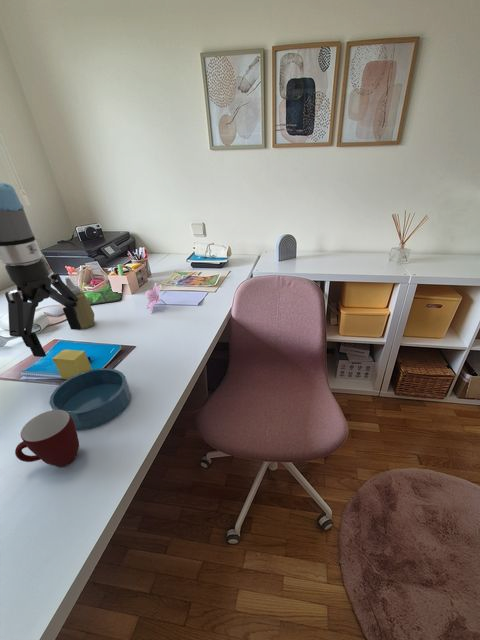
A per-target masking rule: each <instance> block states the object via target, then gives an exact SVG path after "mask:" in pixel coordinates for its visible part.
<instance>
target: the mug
mask: <svg viewBox="0 0 480 640" xmlns="http://www.w3.org/2000/svg"><path fill="white" fill-rule="evenodd" d="M20 438H21V440H22V441H21V442H19V443H18V444H17V445H16V447H15V450H14V455H15V457H16V458H17V459H18V460H19V461H21V462H25V463H32V462H37V461H42V462H43V463H45V464H47V465H49V466H53V467H56V468H64V467H66V466H67V467H68V466H69V465H71V464H72V463H73V462H75V460H76V459H77V457H78V453H79V451H80V449H79V448H80V441H79V436H78V431H77V430H76V427H75V424H74V422H73V420H72V418H71V416H70V414H69V413H68V412H67V411H64V410H52V409H51V410H47V411H45V412H42V413H39V414H37V415H36V416H34V417H33V418H31V419H30V420H28V422H26V423H25V424H24V426H23V427H22V429H21V430H20ZM26 448H28V450H29V451H31V452H32V454H34V455H29V454H26V453H24V452H23V450H24V449H26Z"/></svg>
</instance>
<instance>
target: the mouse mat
mask: <svg viewBox="0 0 480 640" xmlns="http://www.w3.org/2000/svg"><path fill="white" fill-rule="evenodd" d="M80 292H83V291H80ZM83 293H84V294H85V296H86V298H87V300H88V302H89V304H90V306H94V305H99V304H100V305H102V304H108V303H114V302H119V301H122V299H123V292H122V293H118V292H113V291H112V289H111V286H110V284H109V285H107V286H106V287H105V288H103V289H101V290H99V291H97V292H83ZM64 307H66V306H64Z"/></svg>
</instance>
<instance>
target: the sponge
mask: <svg viewBox="0 0 480 640" xmlns="http://www.w3.org/2000/svg"><path fill="white" fill-rule="evenodd" d="M51 360H52V361H53V364H54V365H55V367H56V370H57V371H58V373H59V377H60V378H61V379H62V380H68V379H69V378H71V377H73V376H75V375H77V374H80V373H83V372H86V371H89V370H93V368H92V365H91V362H90V361H89V358H88V355H87V353H86V351H85V350H75V349H62V350H61V351H60V352H58V353H57V354H55V355H54V356H53V357H52V358H51Z"/></svg>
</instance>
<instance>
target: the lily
mask: <svg viewBox="0 0 480 640" xmlns="http://www.w3.org/2000/svg"><path fill="white" fill-rule="evenodd" d="M162 286H163V285H162V284H160V285H157V282H155V283H154V284H153V288H152V289H148V290H147V291H145V296H146V299H147V300H148V301H147V303H146V305H145V306H146V307H145V308H146V309H148V308H149V309H148V310H149V313H150V314H152V312H153V309H154V306H155V304H159V303H160V304H161V302H162V303H163V304H164V305H165V306H167V304H166V302H165V301H164V300H163V299H162V298H160V296H159V295H160V294H159V293H160V290H161V288H162Z"/></svg>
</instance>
